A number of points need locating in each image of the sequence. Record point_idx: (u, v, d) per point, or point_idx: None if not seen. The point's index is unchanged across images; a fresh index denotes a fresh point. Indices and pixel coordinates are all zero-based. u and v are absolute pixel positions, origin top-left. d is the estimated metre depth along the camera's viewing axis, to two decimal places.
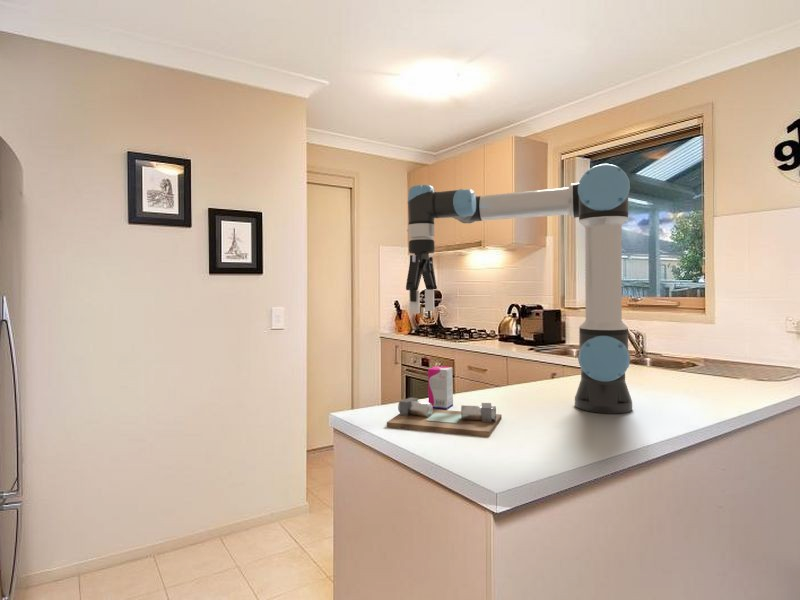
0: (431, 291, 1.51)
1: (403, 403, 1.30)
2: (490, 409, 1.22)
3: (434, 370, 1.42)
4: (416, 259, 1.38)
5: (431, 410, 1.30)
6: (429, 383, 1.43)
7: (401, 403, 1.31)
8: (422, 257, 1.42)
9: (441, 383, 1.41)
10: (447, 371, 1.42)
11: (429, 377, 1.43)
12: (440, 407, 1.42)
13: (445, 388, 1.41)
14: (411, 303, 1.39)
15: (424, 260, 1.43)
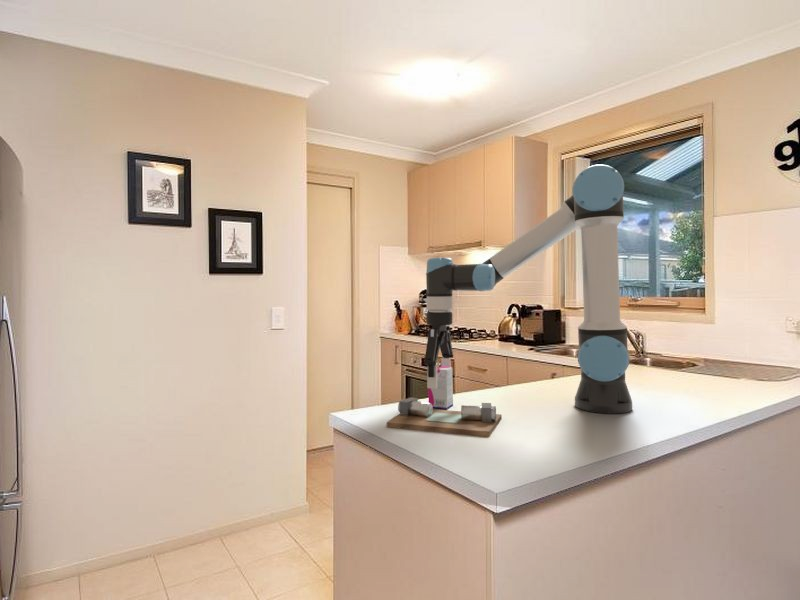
0: (448, 360, 1.50)
1: (403, 403, 1.30)
2: (490, 409, 1.22)
3: None
4: (434, 334, 1.37)
5: (431, 410, 1.30)
6: None
7: (401, 403, 1.31)
8: (440, 330, 1.41)
9: (441, 383, 1.41)
10: (447, 371, 1.42)
11: None
12: (440, 407, 1.42)
13: (445, 388, 1.41)
14: (429, 378, 1.38)
15: (442, 333, 1.42)
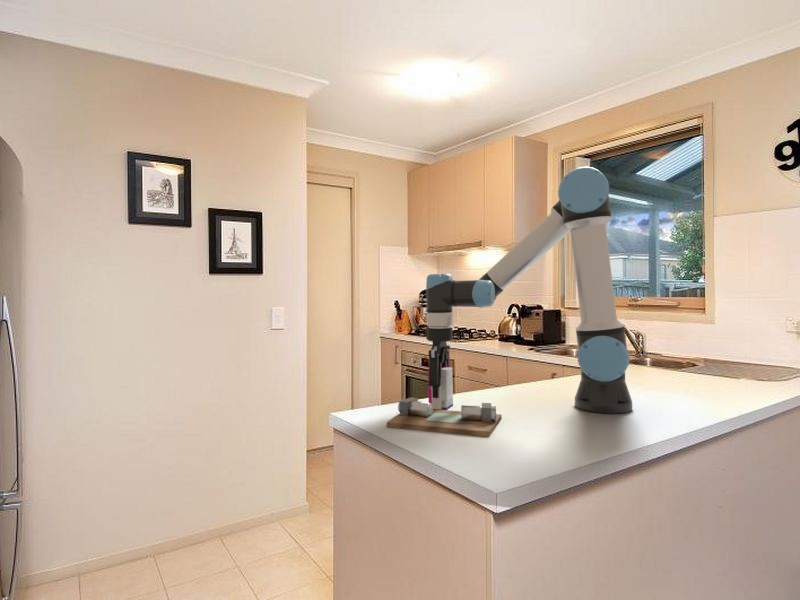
0: None
1: (403, 403, 1.30)
2: (490, 409, 1.22)
3: None
4: (435, 356, 1.38)
5: (431, 410, 1.30)
6: None
7: (401, 403, 1.31)
8: (440, 346, 1.41)
9: (441, 383, 1.41)
10: (447, 371, 1.42)
11: None
12: None
13: (445, 388, 1.41)
14: (433, 398, 1.41)
15: (442, 350, 1.42)
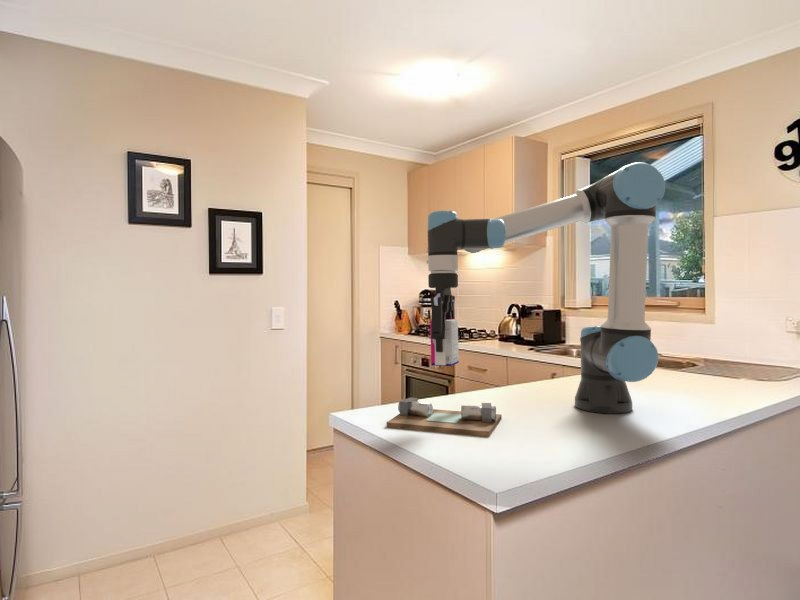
0: None
1: (403, 403, 1.30)
2: (490, 409, 1.22)
3: None
4: (439, 303, 1.20)
5: (431, 410, 1.30)
6: None
7: (401, 403, 1.31)
8: (444, 293, 1.24)
9: (445, 336, 1.24)
10: (452, 322, 1.24)
11: (431, 330, 1.25)
12: None
13: (450, 342, 1.23)
14: (437, 353, 1.24)
15: (446, 298, 1.24)
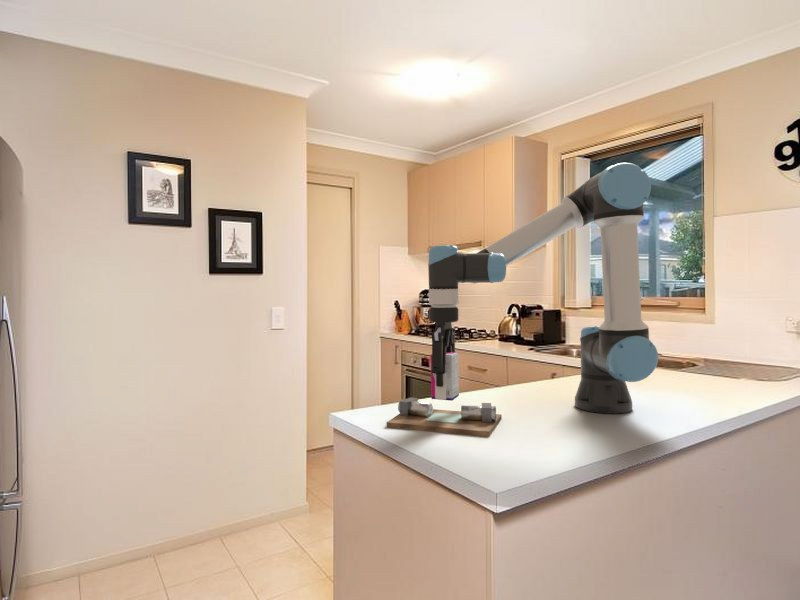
0: None
1: (403, 403, 1.30)
2: (490, 409, 1.22)
3: None
4: (439, 338, 1.21)
5: (431, 410, 1.30)
6: None
7: (401, 403, 1.31)
8: (444, 327, 1.24)
9: (445, 370, 1.24)
10: (452, 357, 1.24)
11: None
12: None
13: (450, 376, 1.24)
14: (437, 387, 1.24)
15: (447, 332, 1.25)
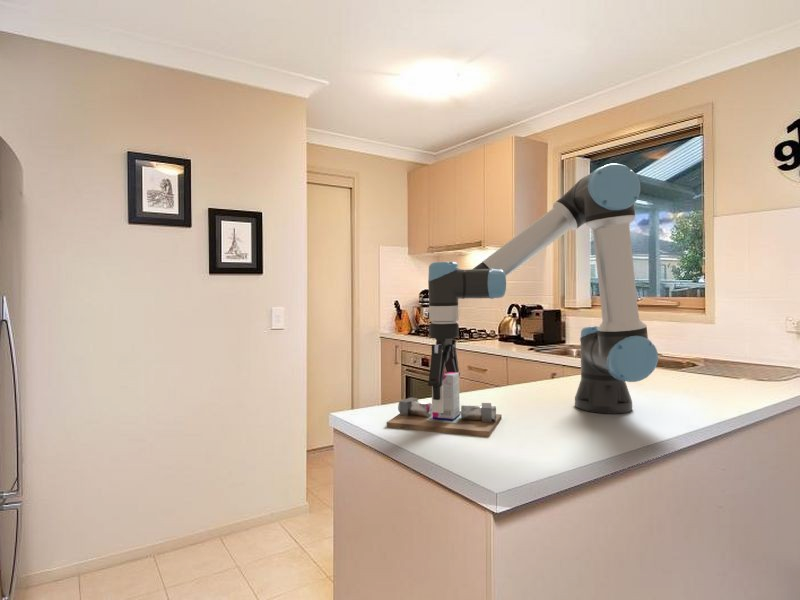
0: None
1: (403, 403, 1.30)
2: (490, 409, 1.22)
3: None
4: (439, 350, 1.20)
5: (431, 410, 1.30)
6: None
7: (401, 403, 1.31)
8: (445, 344, 1.24)
9: (447, 391, 1.24)
10: (454, 377, 1.25)
11: None
12: (446, 418, 1.25)
13: (452, 396, 1.24)
14: (434, 400, 1.21)
15: (447, 347, 1.25)
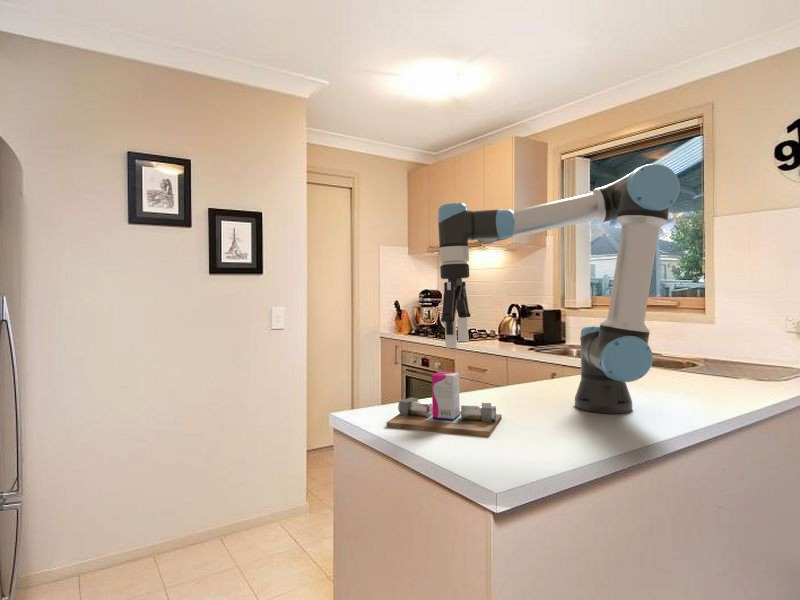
0: (465, 319, 1.36)
1: (403, 403, 1.30)
2: (490, 409, 1.22)
3: (439, 376, 1.25)
4: (451, 287, 1.23)
5: (431, 410, 1.30)
6: (433, 391, 1.26)
7: (401, 403, 1.31)
8: (457, 283, 1.27)
9: (447, 391, 1.24)
10: (454, 377, 1.25)
11: (433, 384, 1.26)
12: (446, 418, 1.25)
13: (452, 396, 1.24)
14: (447, 336, 1.24)
15: (459, 287, 1.28)
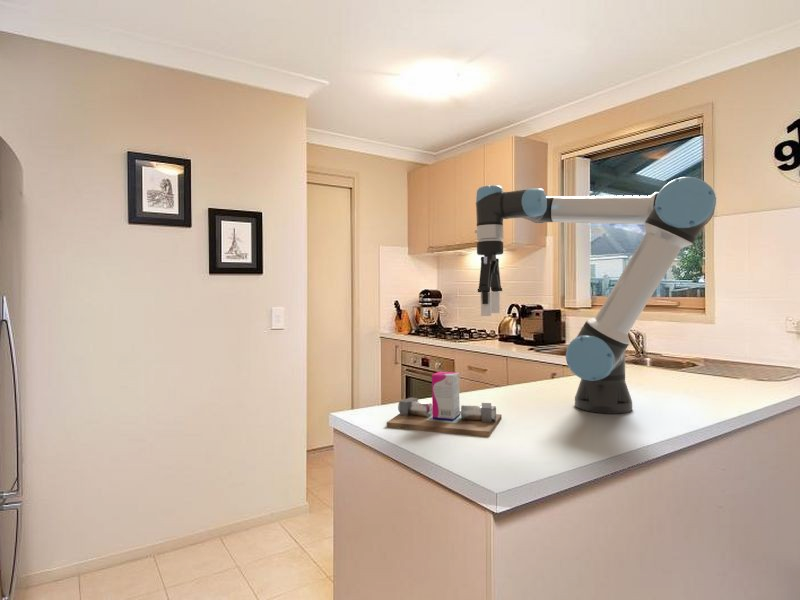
0: (497, 293, 1.49)
1: (403, 403, 1.30)
2: (490, 409, 1.22)
3: (439, 376, 1.25)
4: (488, 261, 1.36)
5: (431, 410, 1.30)
6: (433, 391, 1.26)
7: (401, 403, 1.31)
8: (492, 259, 1.40)
9: (447, 391, 1.24)
10: (454, 377, 1.25)
11: (433, 384, 1.26)
12: (446, 418, 1.25)
13: (452, 396, 1.24)
14: (482, 305, 1.37)
15: (494, 262, 1.41)
